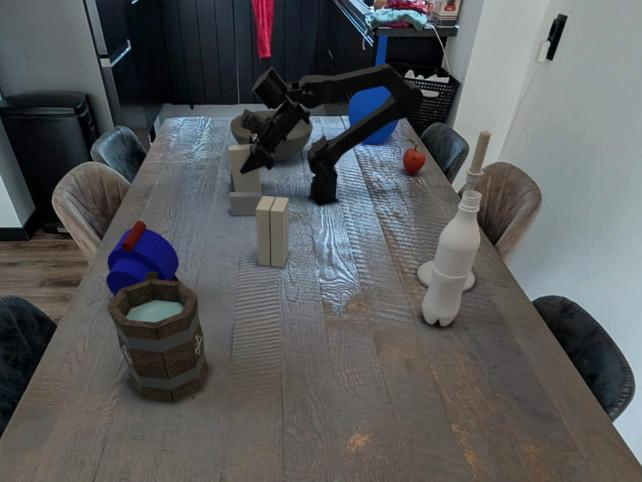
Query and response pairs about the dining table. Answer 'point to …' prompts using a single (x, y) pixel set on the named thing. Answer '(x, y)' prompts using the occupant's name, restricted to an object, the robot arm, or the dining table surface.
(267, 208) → the white books
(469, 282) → the candlestick
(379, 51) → the vase
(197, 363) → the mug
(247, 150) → the cream rectangular block
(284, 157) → the bowl
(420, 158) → the apple
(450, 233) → the water bottle
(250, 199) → the grey books
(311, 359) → the dining table surface
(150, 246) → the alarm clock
